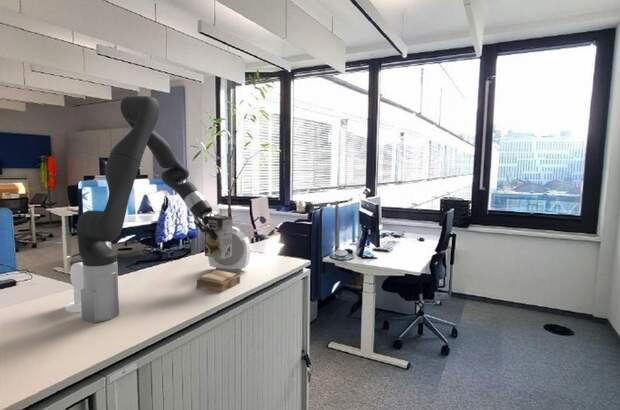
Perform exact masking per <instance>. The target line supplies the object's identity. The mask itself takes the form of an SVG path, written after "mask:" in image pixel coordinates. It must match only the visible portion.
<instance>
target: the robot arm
mask: <svg viewBox="0 0 620 410" xmlns="http://www.w3.org/2000/svg"><path fill="white" fill-rule="evenodd" d="M120 113H121V114H122V117H123V118H124V120H125V121H126V122H127V123H128V125H129V126H130V127H131V129H130V131H129V132H128V133H127V134H126V135H125V136H124V137H123V138H122V139H120V141H118V142H117V144H115V146H113V148H112V150H111V151H110V153H109V156H108V157H107V158H108V159H107V162H106V164H105V167H104V174H105V180H106V184H107V188H108V198H107V200H106V201H107V202H106V205H105V208H104V210H95V209H94V210H91V209H90V210H86V211H84V212H83V213H81V214H80V216H79V217H78V220H77V222H76V223H77V224H76V235H77V236H76V237H77V244H78V245H77V246H78V247H77V248H78V253H79V256H80V259H82V260H83V280H84V288H83V289H81V308H82V312H81V320H84V321H88V322H91V323H95V324H96V323H99V322H103V321H108V320H111V319H113V318H115V317H116V318H117V316H118V315H119V314H120V305H119V303H120V302H119V301H120V299H119V274H118V270H119V268H118V253H117V252H116V250H114V249H112V248H111V247H109V246H108V245H107V244H106V242H107V243H111V242H114V241H115V240H117V239H118V238H119V237H120V234H121V232H122V230H123V228H124V227H123V226H124V224H125V218H126V215H127V214H126V213H127V208H128V204H129V200H130V196H131V193H132V190H133V186H134V183H135V180H136V178H137V175H138V172H139V168H140V166H141V163H142V158H143V156H144V153H145V150H146V147H148V148H149V150H150V152H151V154H152V155H153V156H154V159H155V160H156V162H157V164H158V165H159V167H161V168H162V169H166V170H164V171H162V172H161V175H160V176H161V181H162V182H163V183H164V184H165V185H166V186H168V187H169V188H171V189H172V190H173V191H175V192H176V193H177V194H178V196H179V197H180V199H182V201H183V202H184V204H185V206H186V207H187V209H188V210H189V211H190V213H191V214H192V216H194V218H195V219H194V220H193V223H194V225H196V226H197V228H198V230H199V231H200V232H201V233H203V234H205V232H206V233H208V234H209V235H210V237H211V238H212V239H213V240H216V239H217V238H218V236H217V235H216V233H215V232H214V231H213V230H211V229H212V227H211V226H210V223H209V221H208V224H207V225H205V224H206V222H207V221H206V219H205V216H209V215H221V213H216V214H215V213H213V208H212V206H211V205H210V203H209V202H208V200H207V199H206V198H205V197H204V195H203V194H202V193H201V192H200V191H199V190H198V189H197V186H196V185H195V184H193V182H190V181H186V182H183V181H185V180H187V179H188V178H189V176H190V175H189V174H190V173H189V169H188V168H187V167H186V166H185V165H184V164H183V163H182V162H181V161H180V160H179V159H178V158H177V156H176V155H175V153H174V151H173V148H172V147H171V145H170V144H169V143H168V141H166V140H165V138H163V136H161V135H160V134H159V133H157V132H156V131H155V130H154V128H155V127H156V124H157V123H158V120H159V117H160V105H159V101H158V100H157V99H156V98H155V97H153V96H148V95H129V96H125V97H123V98H122V100H121V102H120Z"/></svg>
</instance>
